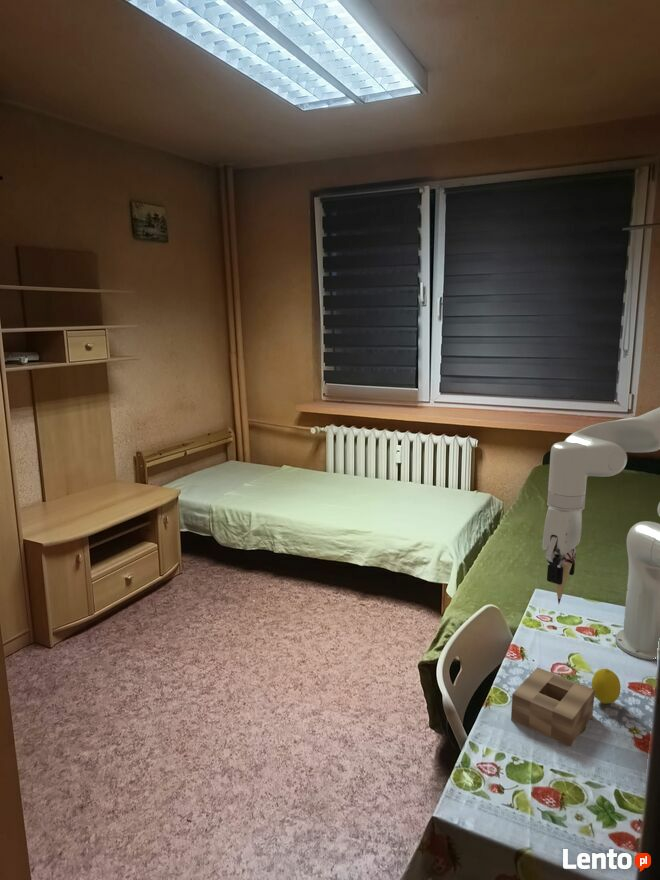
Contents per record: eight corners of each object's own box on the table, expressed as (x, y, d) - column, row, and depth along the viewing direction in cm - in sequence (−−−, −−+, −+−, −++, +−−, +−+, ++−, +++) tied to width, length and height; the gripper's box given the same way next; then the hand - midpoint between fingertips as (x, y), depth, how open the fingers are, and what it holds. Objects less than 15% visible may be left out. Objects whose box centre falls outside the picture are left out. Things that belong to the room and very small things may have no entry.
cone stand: (535, 691, 131) (537, 667, 130) (592, 715, 123) (594, 689, 122) (511, 719, 122) (512, 693, 121) (570, 747, 114) (572, 719, 113)
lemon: (622, 713, 124) (625, 678, 122) (593, 710, 125) (596, 675, 123) (615, 696, 129) (618, 663, 127) (587, 693, 130) (590, 660, 128)
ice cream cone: (544, 607, 133) (548, 543, 130) (545, 596, 138) (549, 534, 135) (572, 612, 131) (577, 547, 127) (572, 600, 136) (577, 538, 133)
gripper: (565, 487, 138) (559, 561, 141) (531, 505, 125) (526, 585, 129) (598, 493, 133) (592, 570, 136) (567, 513, 120) (561, 596, 124)
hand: (560, 577), depth 133 cm, fingers closed on ice cream cone, 5 cm apart
